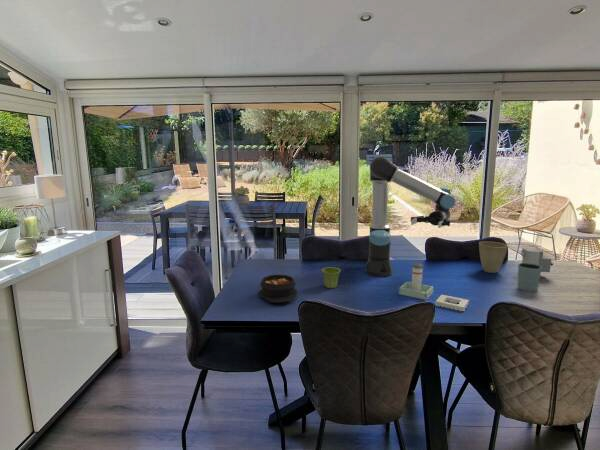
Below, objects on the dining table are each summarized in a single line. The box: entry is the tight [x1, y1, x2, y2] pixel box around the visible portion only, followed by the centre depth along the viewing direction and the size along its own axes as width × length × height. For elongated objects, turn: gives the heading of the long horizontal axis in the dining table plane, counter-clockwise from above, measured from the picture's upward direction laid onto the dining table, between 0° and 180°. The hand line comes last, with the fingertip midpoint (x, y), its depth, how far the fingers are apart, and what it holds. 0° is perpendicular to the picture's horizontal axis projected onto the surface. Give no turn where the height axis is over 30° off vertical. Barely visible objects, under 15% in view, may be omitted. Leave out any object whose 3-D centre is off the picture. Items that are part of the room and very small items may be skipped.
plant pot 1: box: [321, 266, 341, 289], centre depth 198 cm, size 9×9×9 cm
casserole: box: [258, 274, 299, 304], centre depth 185 cm, size 25×19×8 cm
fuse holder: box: [434, 294, 470, 312], centre depth 175 cm, size 12×10×2 cm
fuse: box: [411, 262, 424, 292], centre depth 188 cm, size 5×5×14 cm
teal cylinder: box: [517, 262, 542, 292], centre depth 196 cm, size 10×10×12 cm
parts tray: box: [398, 281, 434, 301], centre depth 189 cm, size 13×11×3 cm
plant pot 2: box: [478, 241, 509, 274], centre depth 224 cm, size 15×15×16 cm
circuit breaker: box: [520, 247, 554, 279], centre depth 215 cm, size 8×14×15 cm, turn 78°
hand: (425, 223), depth 197 cm, fingers open, 13 cm apart
